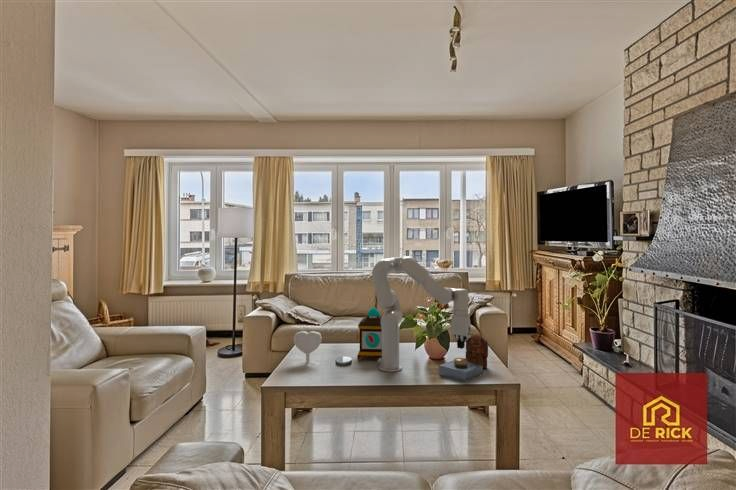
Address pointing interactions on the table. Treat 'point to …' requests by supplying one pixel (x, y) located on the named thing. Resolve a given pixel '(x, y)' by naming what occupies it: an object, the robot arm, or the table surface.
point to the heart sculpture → (307, 344)
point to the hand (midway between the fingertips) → (460, 347)
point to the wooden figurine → (477, 350)
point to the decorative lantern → (370, 335)
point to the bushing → (460, 362)
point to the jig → (460, 371)
